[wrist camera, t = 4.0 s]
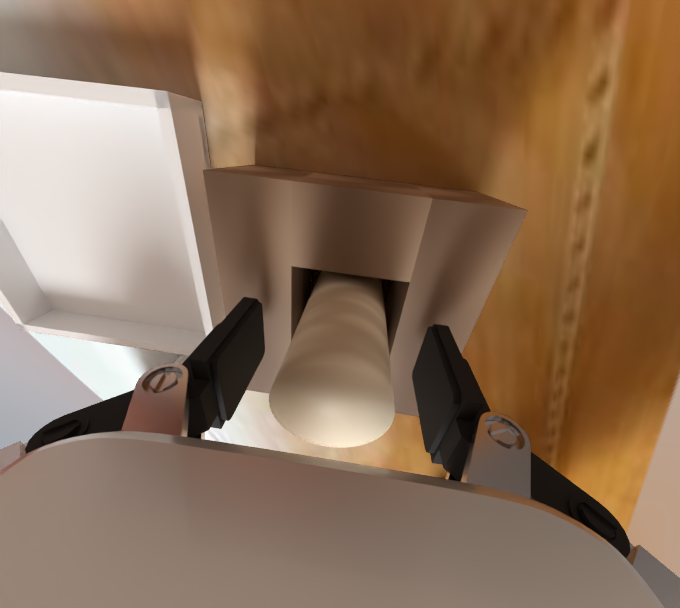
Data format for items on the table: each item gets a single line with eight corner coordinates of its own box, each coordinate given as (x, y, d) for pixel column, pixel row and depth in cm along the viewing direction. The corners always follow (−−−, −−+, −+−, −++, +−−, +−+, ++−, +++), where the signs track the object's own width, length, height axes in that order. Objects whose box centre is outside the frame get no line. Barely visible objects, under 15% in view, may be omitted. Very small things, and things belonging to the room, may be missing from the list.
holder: (477, 192, 13) (528, 210, 9) (418, 360, 20) (431, 418, 15) (254, 164, 14) (202, 169, 10) (265, 338, 20) (236, 388, 16)
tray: (201, 101, 13) (167, 91, 11) (234, 338, 20) (218, 360, 18) (-81, 69, 13) (-168, 52, 11) (56, 311, 21) (20, 330, 19)
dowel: (386, 254, 16) (408, 374, 7) (375, 309, 18) (382, 454, 9) (322, 245, 16) (266, 353, 7) (318, 301, 18) (271, 437, 9)
